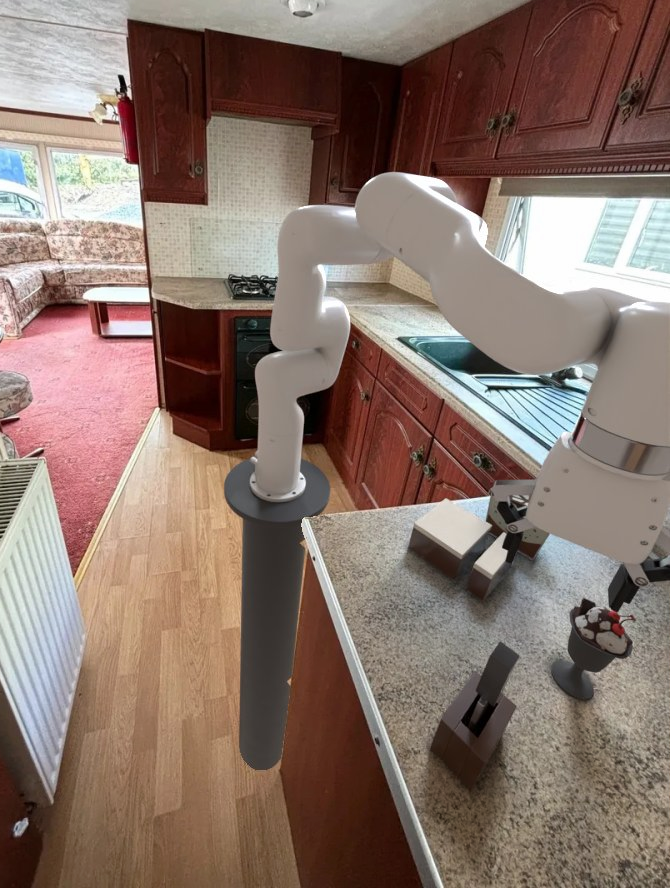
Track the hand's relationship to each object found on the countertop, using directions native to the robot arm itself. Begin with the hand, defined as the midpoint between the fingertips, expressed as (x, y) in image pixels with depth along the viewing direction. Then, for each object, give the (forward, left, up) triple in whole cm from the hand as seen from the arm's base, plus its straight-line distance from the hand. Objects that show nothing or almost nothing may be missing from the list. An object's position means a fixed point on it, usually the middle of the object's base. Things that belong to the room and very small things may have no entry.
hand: (558, 576), depth 44 cm
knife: (-1, -9, -21) cm, 23 cm away
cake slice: (-9, +17, -21) cm, 29 cm away
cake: (-18, +17, -21) cm, 32 cm away
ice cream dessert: (-11, +30, -22) cm, 39 cm away
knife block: (-1, -9, -21) cm, 23 cm away
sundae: (+5, +9, -22) cm, 24 cm away
